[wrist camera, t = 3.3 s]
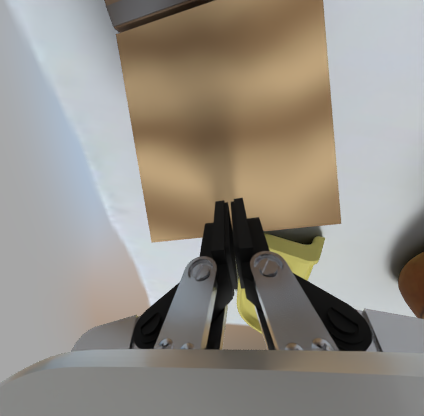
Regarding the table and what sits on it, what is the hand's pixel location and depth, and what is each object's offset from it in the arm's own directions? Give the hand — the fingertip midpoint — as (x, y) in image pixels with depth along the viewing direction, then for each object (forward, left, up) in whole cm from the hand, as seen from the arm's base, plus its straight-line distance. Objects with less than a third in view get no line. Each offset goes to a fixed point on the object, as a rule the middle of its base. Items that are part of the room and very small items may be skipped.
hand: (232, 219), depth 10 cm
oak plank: (0, -4, -6) cm, 7 cm away
